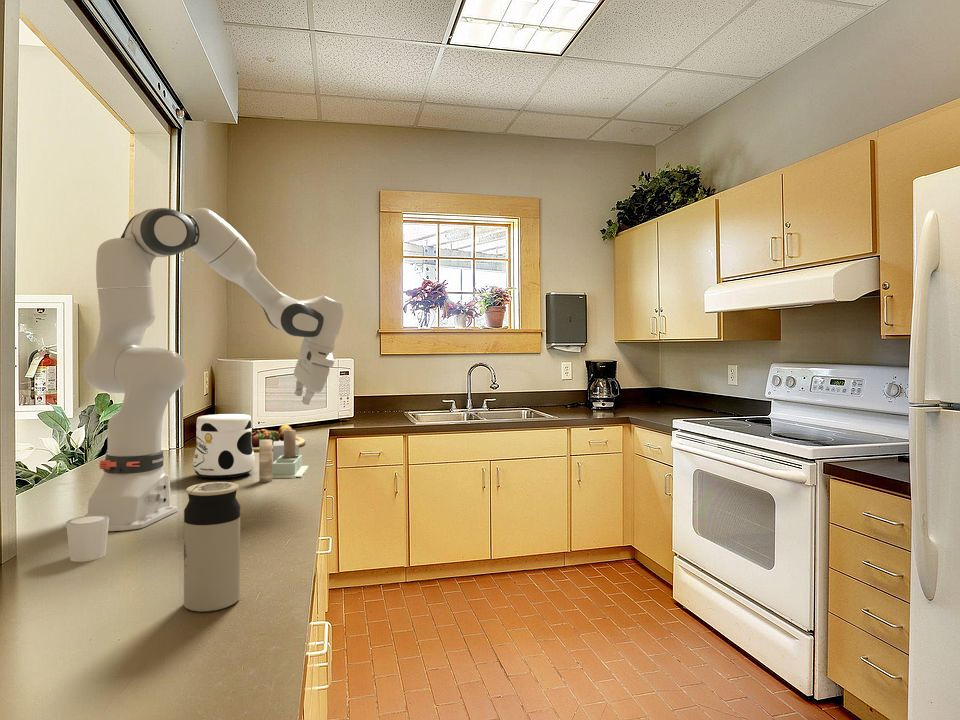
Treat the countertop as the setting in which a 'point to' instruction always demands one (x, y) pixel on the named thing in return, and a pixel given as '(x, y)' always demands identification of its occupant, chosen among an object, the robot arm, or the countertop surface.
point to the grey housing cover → (281, 449)
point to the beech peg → (265, 460)
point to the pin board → (289, 459)
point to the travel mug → (211, 547)
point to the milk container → (223, 446)
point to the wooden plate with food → (272, 437)
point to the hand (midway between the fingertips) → (301, 399)
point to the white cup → (87, 537)
